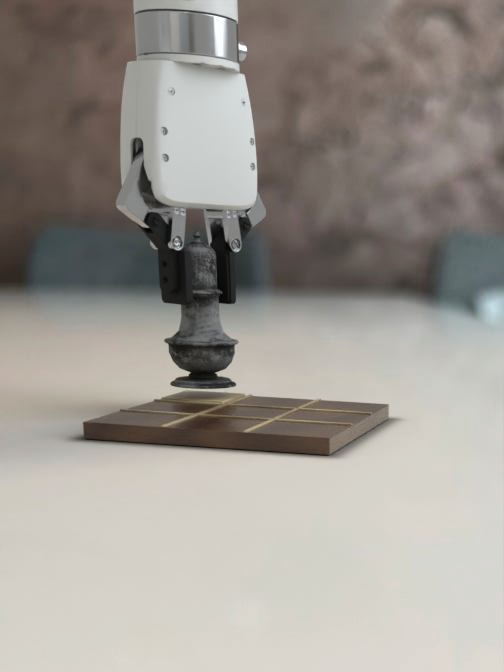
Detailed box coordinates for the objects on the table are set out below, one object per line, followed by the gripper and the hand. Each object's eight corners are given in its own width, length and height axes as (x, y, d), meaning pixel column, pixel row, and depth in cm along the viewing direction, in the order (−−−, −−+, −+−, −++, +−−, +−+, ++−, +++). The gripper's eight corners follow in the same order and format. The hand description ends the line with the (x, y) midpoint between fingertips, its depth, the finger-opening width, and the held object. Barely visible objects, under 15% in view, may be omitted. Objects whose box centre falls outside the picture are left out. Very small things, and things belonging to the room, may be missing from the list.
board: (83, 438, 78) (82, 419, 78) (184, 405, 95) (184, 389, 95) (329, 455, 76) (329, 434, 76) (388, 418, 93) (389, 401, 92)
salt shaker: (203, 391, 87) (196, 229, 83) (151, 384, 90) (141, 227, 86) (254, 385, 92) (250, 232, 88) (203, 378, 95) (196, 230, 91)
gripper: (241, 67, 91) (248, 299, 97) (59, 33, 79) (81, 301, 85) (304, 61, 87) (307, 304, 93) (122, 25, 75) (139, 308, 81)
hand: (199, 300), depth 89 cm, fingers closed on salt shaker, 3 cm apart
